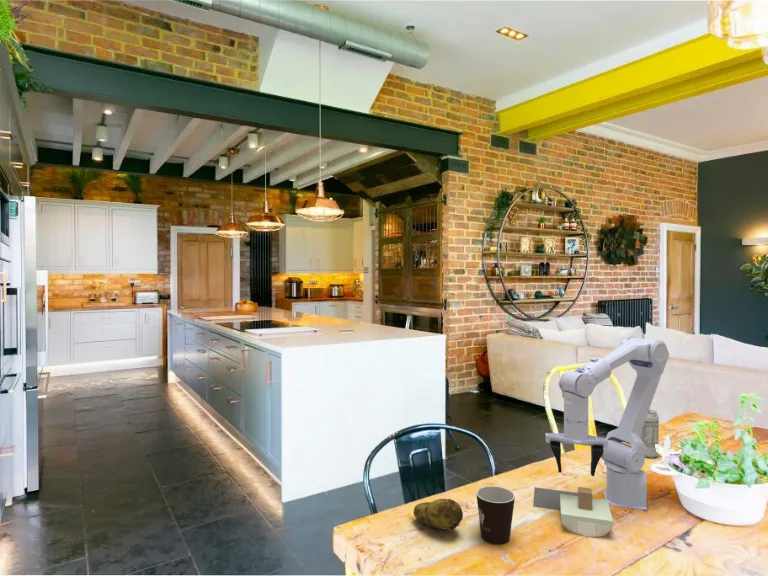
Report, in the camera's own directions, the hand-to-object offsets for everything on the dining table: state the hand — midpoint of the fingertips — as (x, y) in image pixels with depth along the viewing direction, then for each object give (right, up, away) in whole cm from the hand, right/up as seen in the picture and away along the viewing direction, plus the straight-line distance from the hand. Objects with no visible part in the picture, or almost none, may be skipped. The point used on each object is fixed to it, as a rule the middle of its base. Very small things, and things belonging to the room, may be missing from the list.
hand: (576, 472), depth 123 cm
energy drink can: (+39, -9, +39) cm, 56 cm away
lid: (0, -7, -6) cm, 9 cm away
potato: (-36, -11, -7) cm, 38 cm away
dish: (0, -11, -6) cm, 12 cm away
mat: (-2, -10, +7) cm, 12 cm away
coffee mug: (-23, -11, -9) cm, 27 cm away
